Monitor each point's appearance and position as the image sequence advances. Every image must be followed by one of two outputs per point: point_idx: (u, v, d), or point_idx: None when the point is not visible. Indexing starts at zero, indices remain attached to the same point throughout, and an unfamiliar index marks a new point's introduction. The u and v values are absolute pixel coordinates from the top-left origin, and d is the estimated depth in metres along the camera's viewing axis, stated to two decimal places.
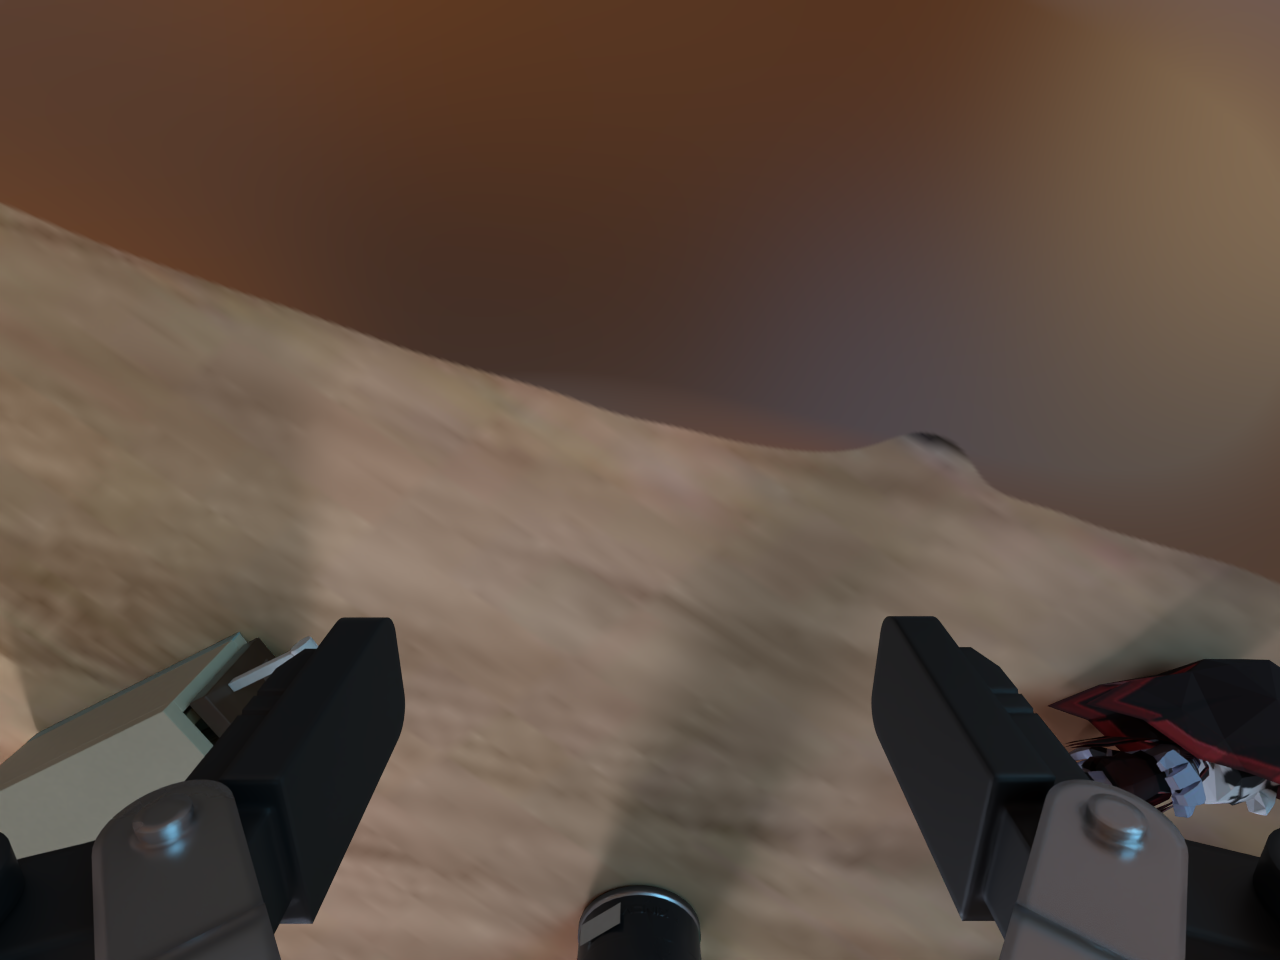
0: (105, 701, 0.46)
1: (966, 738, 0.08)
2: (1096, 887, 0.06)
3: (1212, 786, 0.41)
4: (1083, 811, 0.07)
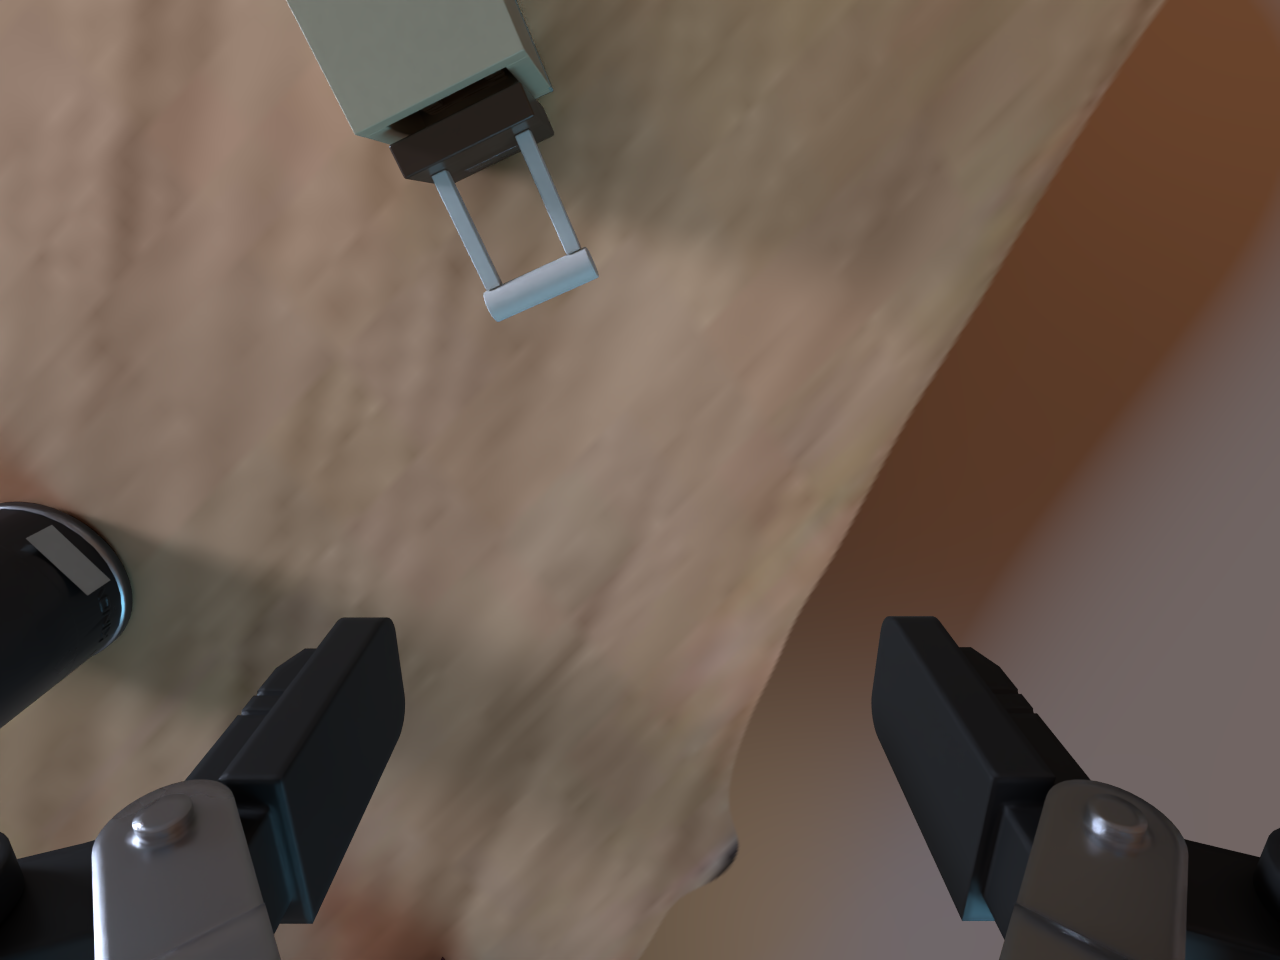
0: None
1: (966, 738, 0.08)
2: (1096, 887, 0.06)
3: None
4: (1083, 811, 0.07)
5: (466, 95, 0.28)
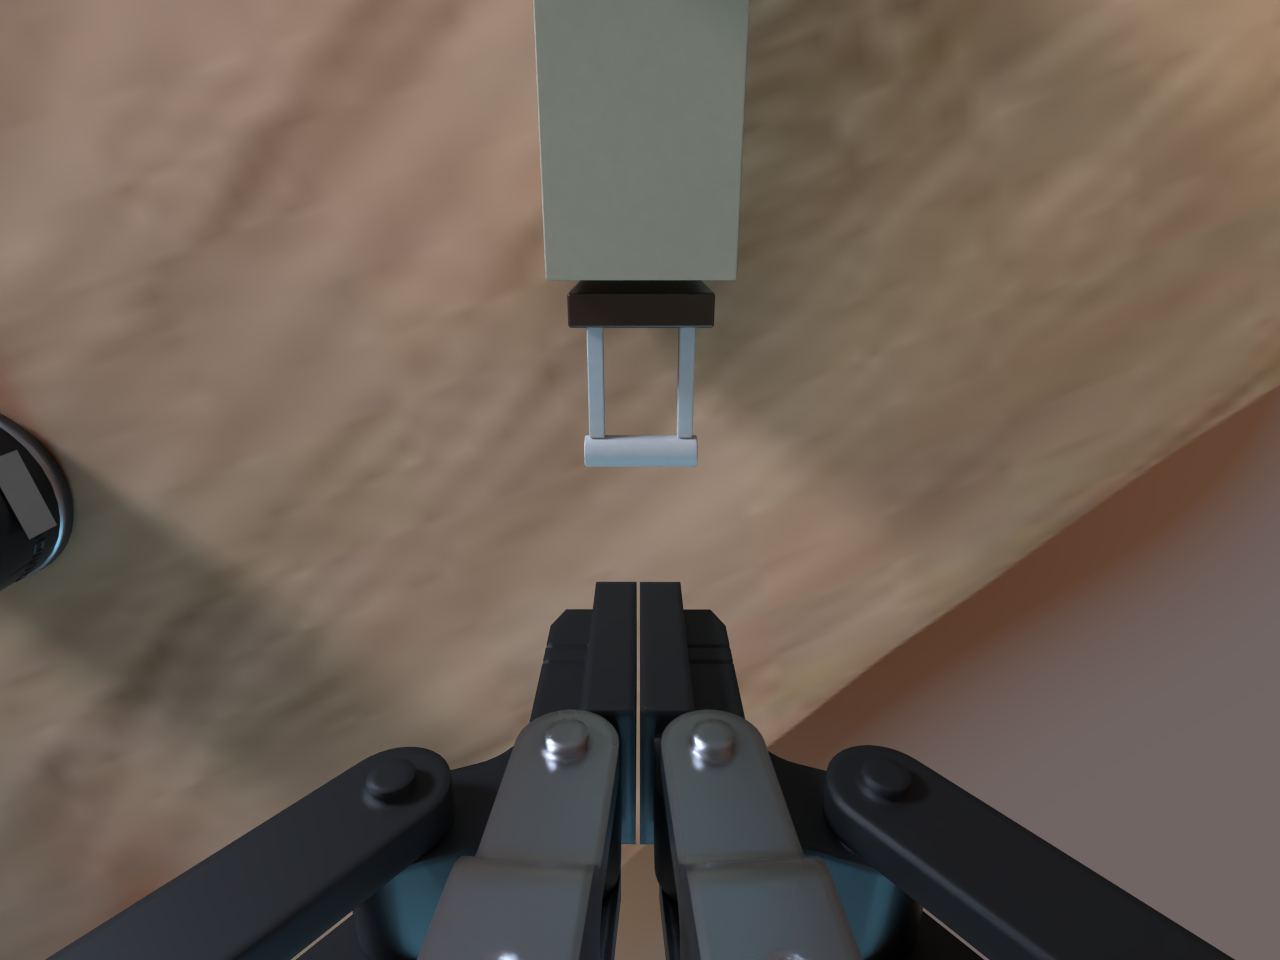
0: None
1: None
2: (723, 807, 0.07)
3: None
4: (691, 735, 0.08)
5: None
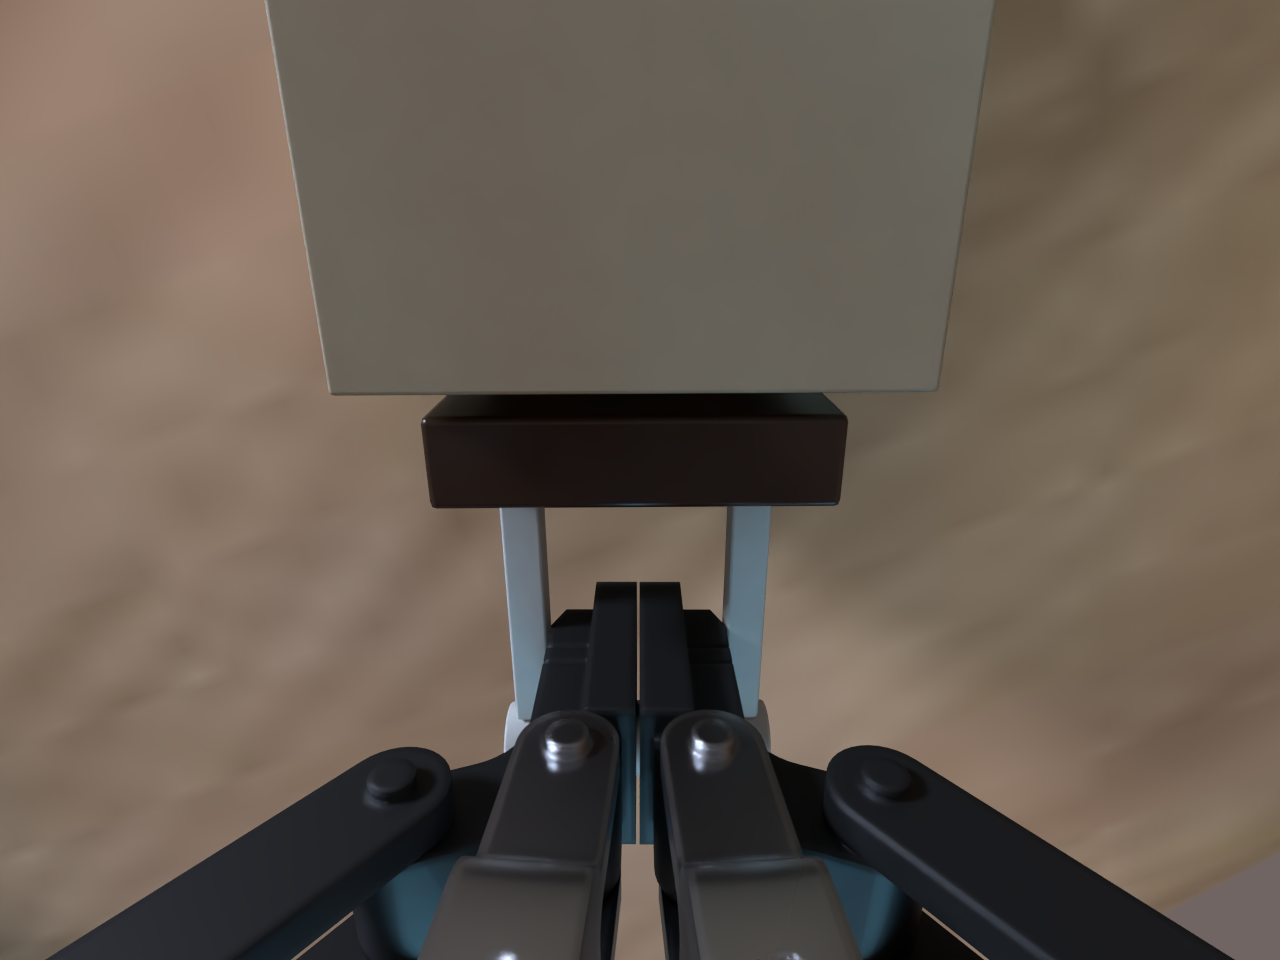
0: None
1: None
2: (723, 807, 0.07)
3: None
4: (690, 735, 0.08)
5: None
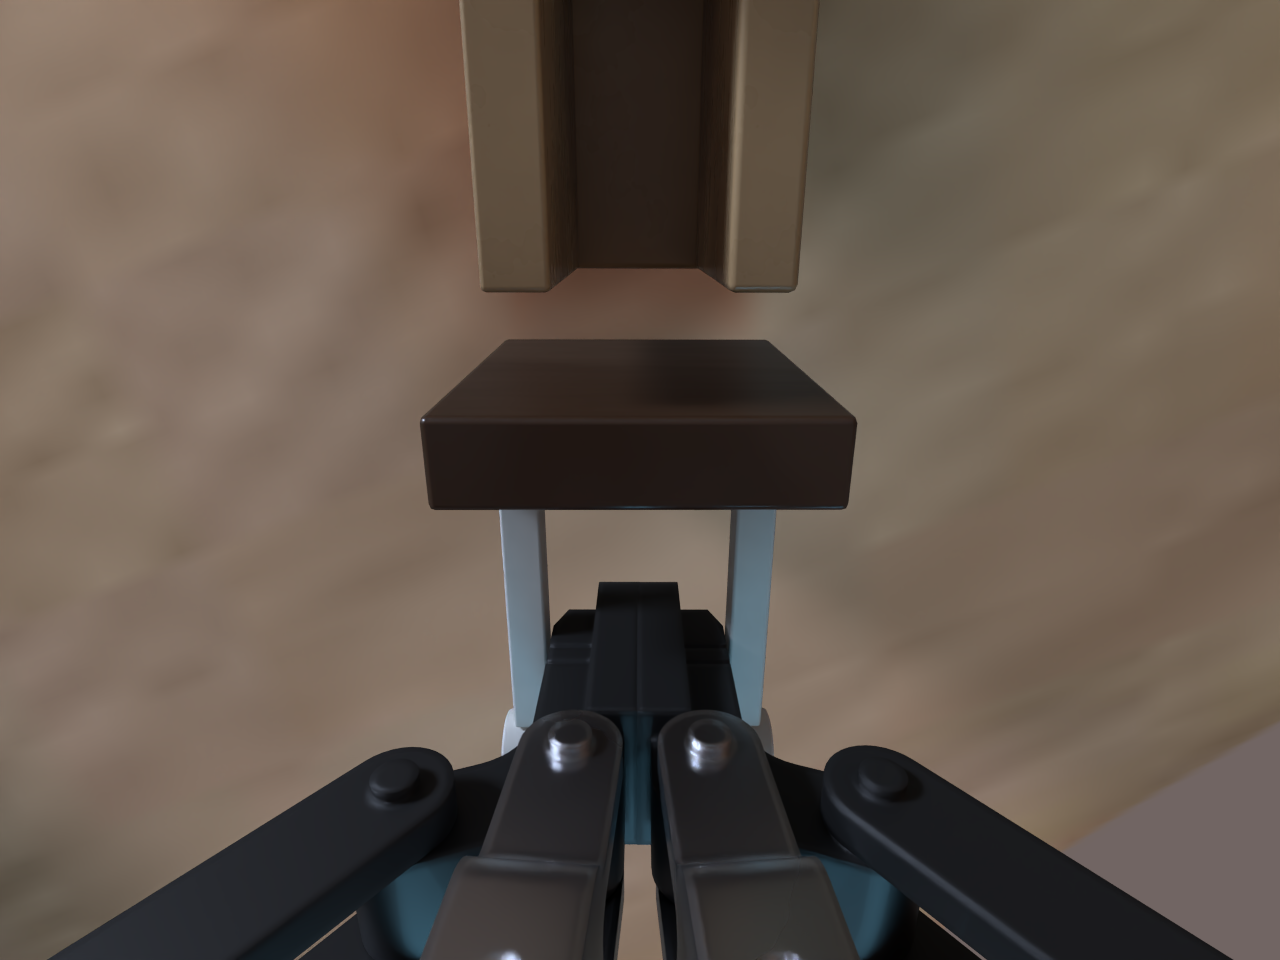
0: None
1: None
2: (720, 807, 0.07)
3: None
4: (687, 736, 0.08)
5: (635, 267, 0.12)
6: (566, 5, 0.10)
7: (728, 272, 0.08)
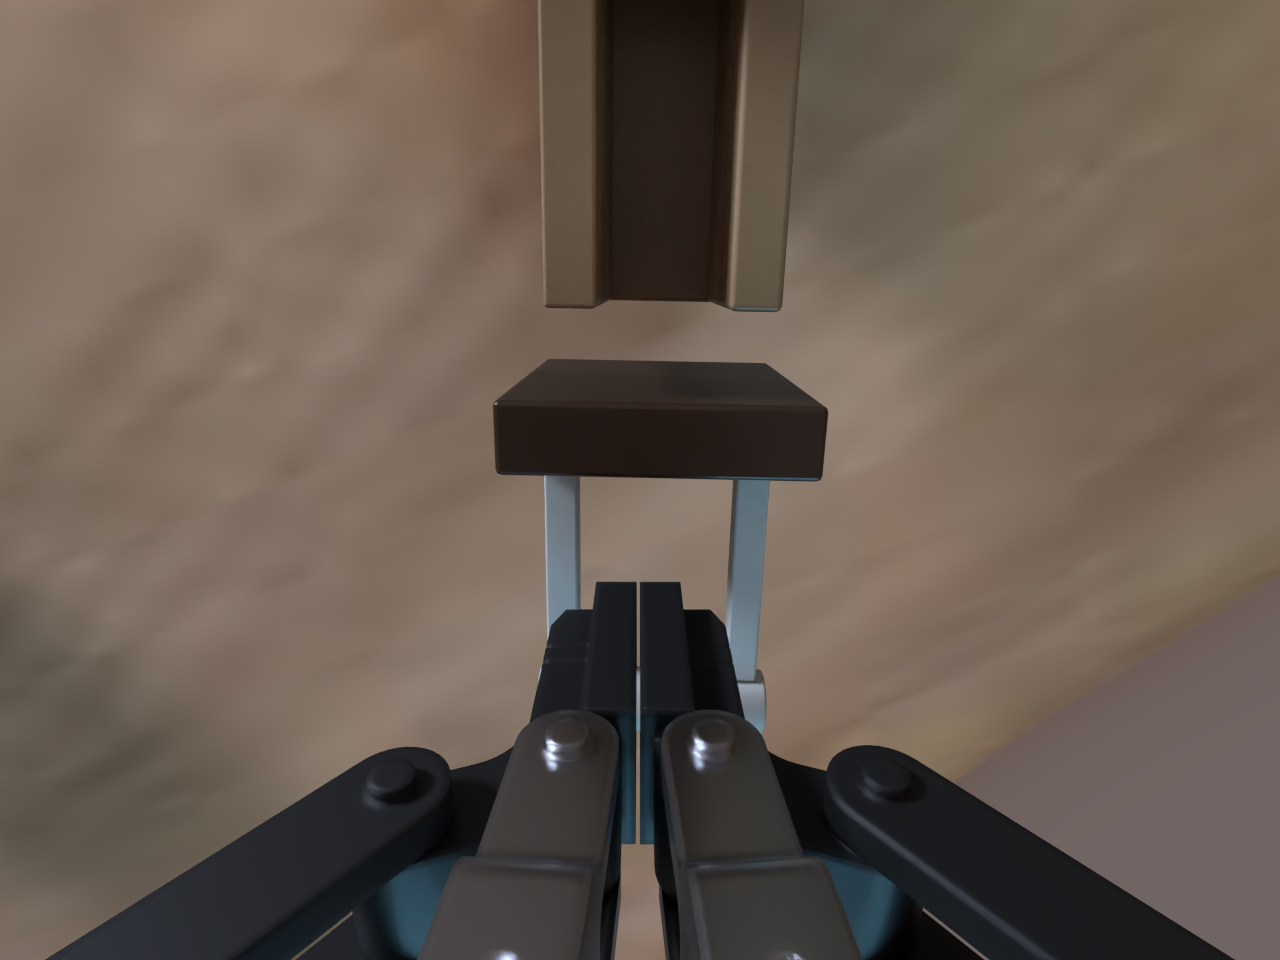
0: None
1: None
2: (723, 807, 0.07)
3: None
4: (691, 736, 0.08)
5: (657, 300, 0.15)
6: (609, 98, 0.13)
7: (729, 296, 0.11)
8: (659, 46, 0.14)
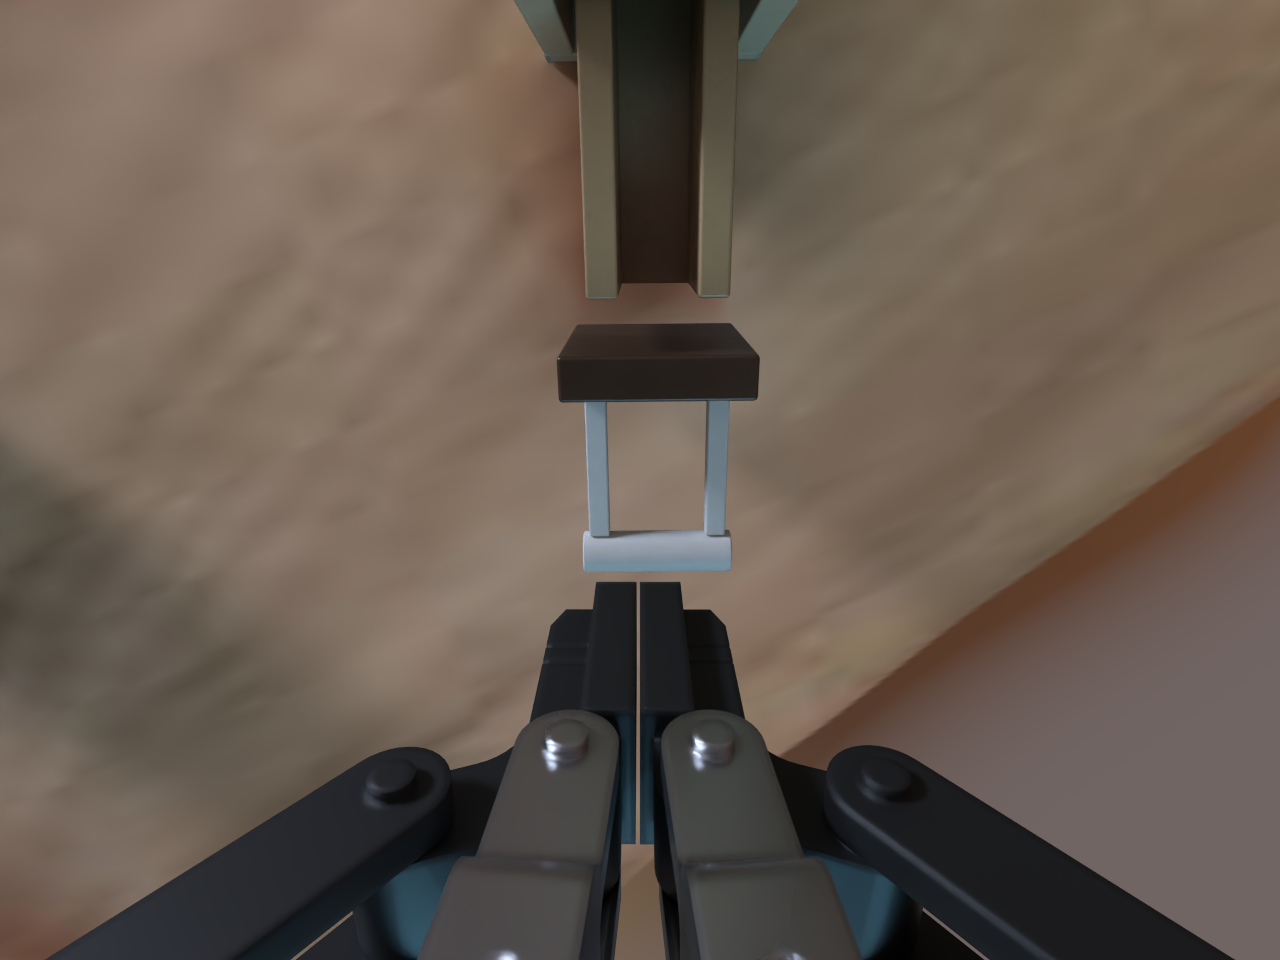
0: None
1: None
2: (723, 807, 0.07)
3: None
4: (691, 735, 0.08)
5: (653, 282, 0.22)
6: (618, 152, 0.19)
7: (697, 289, 0.17)
8: (649, 110, 0.20)
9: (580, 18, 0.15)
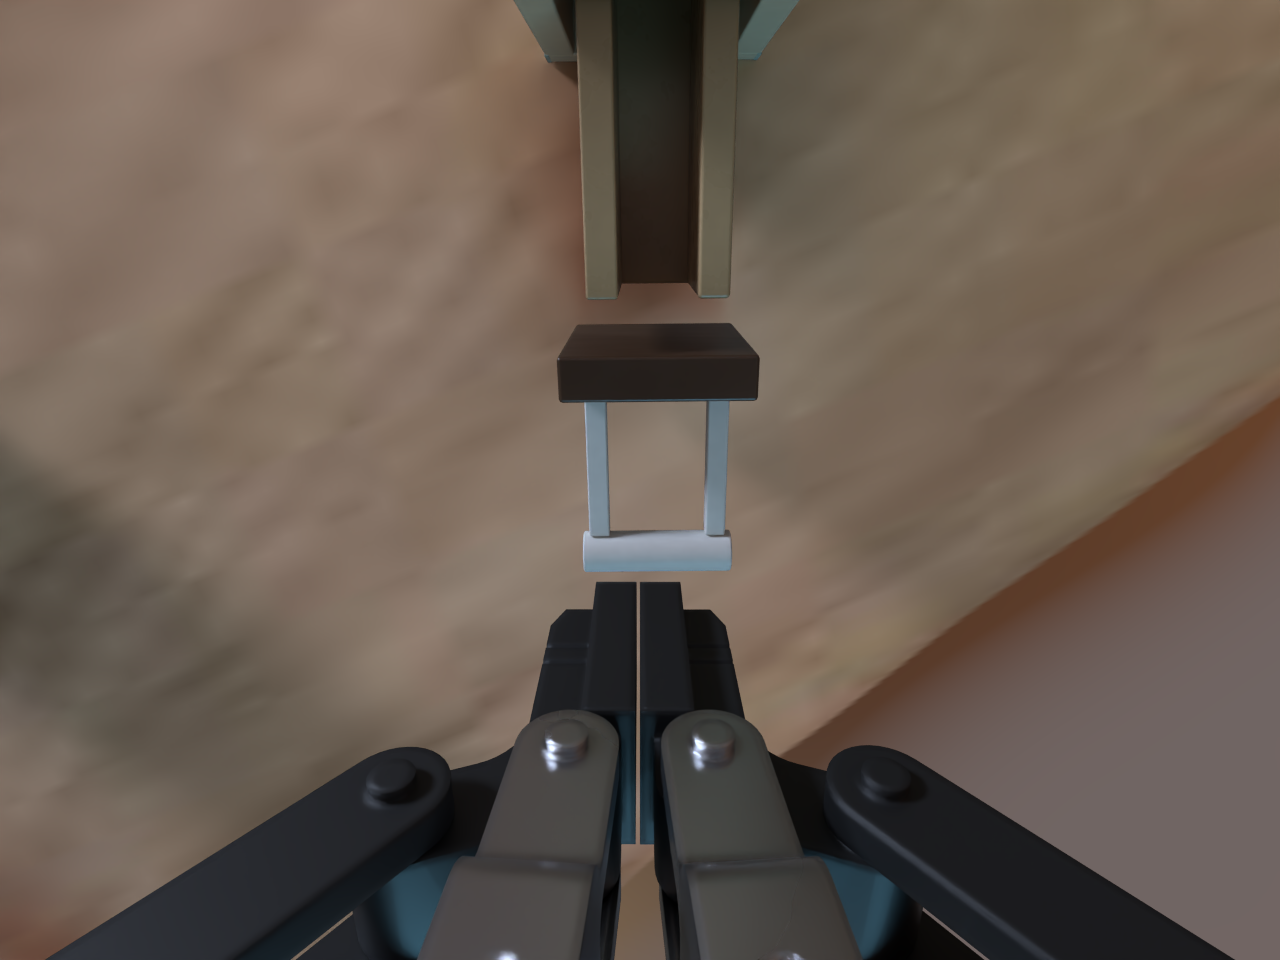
0: None
1: None
2: (723, 807, 0.07)
3: None
4: (691, 735, 0.08)
5: (653, 282, 0.22)
6: (618, 152, 0.19)
7: (698, 289, 0.17)
8: (649, 110, 0.20)
9: (580, 19, 0.15)
